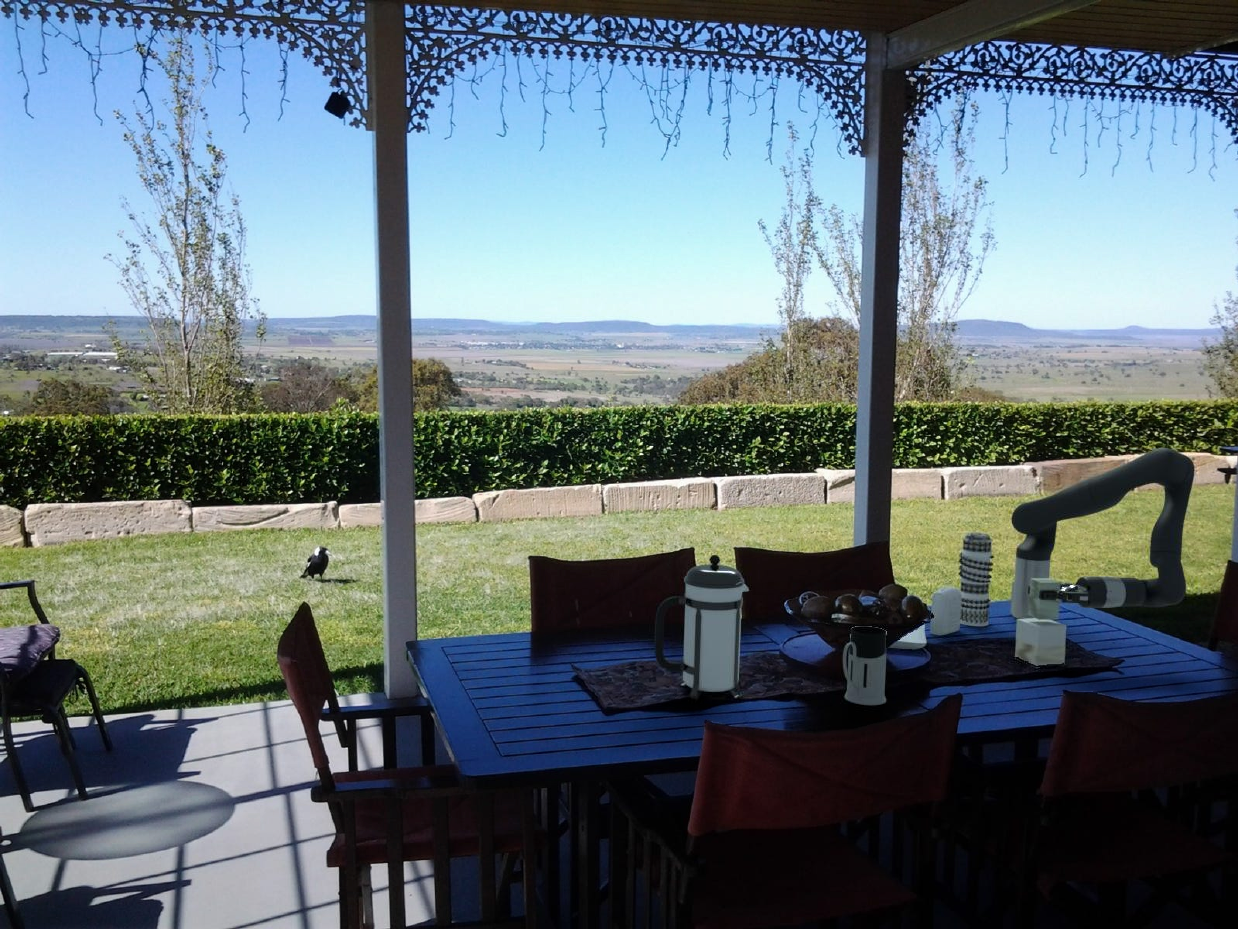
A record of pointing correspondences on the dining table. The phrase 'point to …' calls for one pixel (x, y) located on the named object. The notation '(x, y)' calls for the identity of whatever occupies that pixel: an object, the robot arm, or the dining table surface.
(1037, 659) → the ash block
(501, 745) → the dining table surface
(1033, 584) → the sage block
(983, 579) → the decorative candle
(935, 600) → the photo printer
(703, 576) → the coffee press
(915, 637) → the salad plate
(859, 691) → the glass holder
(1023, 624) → the grey block
